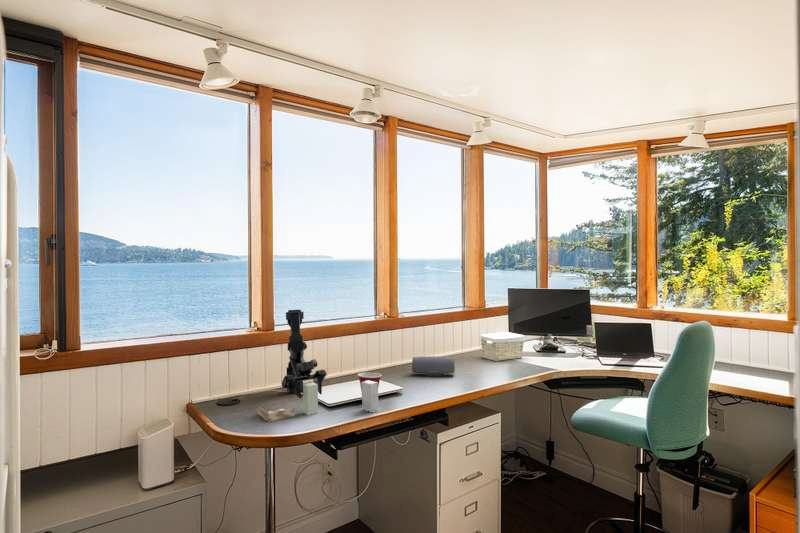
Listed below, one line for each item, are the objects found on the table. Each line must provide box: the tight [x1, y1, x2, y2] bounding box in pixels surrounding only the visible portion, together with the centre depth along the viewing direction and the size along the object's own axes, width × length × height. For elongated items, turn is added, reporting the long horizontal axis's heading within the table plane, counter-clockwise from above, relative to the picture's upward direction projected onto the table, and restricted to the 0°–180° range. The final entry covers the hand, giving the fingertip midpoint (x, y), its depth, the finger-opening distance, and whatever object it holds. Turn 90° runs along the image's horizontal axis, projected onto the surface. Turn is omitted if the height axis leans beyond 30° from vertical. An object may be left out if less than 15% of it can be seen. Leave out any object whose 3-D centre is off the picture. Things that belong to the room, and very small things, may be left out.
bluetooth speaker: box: [411, 356, 456, 377], centre depth 264 cm, size 23×9×10 cm, turn 84°
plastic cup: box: [357, 372, 382, 392], centre depth 218 cm, size 11×11×12 cm
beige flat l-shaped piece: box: [257, 406, 295, 422], centre depth 198 cm, size 11×11×3 cm
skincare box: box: [360, 380, 380, 413], centre depth 204 cm, size 6×4×12 cm
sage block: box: [302, 381, 319, 416], centre depth 201 cm, size 4×4×12 cm
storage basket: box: [480, 332, 525, 362], centre depth 306 cm, size 24×16×15 cm
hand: (311, 395), depth 201 cm, fingers open, 9 cm apart
